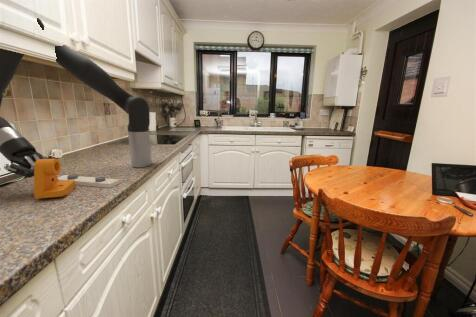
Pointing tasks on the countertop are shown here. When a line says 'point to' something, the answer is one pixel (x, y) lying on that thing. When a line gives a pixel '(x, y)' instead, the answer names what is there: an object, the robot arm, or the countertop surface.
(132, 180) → the countertop surface
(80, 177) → the board
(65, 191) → the bracket
